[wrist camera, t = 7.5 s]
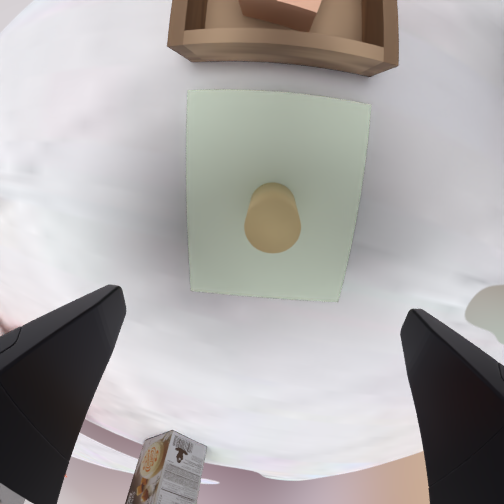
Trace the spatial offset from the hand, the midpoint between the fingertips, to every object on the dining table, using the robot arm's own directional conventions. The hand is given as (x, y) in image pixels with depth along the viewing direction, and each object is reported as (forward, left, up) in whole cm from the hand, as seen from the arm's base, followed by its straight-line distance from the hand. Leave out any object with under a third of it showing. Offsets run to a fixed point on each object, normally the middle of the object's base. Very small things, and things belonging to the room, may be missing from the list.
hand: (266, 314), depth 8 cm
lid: (0, 0, -12) cm, 12 cm away
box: (0, -16, -11) cm, 20 cm away
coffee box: (+11, +37, -12) cm, 40 cm away
